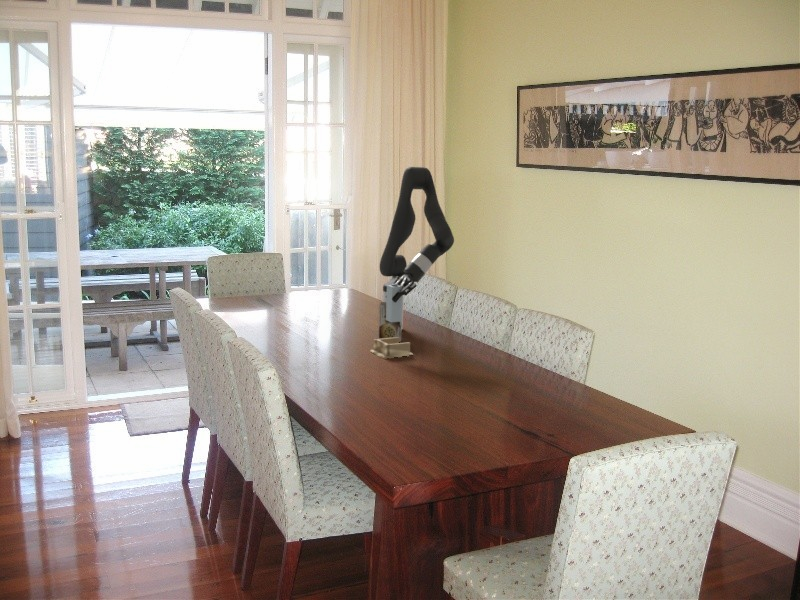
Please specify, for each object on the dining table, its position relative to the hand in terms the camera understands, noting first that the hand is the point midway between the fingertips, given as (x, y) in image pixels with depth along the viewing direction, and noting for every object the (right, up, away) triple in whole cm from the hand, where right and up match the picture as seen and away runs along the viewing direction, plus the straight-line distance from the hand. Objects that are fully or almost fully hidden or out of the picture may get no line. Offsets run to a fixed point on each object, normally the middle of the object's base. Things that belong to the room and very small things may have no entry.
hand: (390, 299), depth 345 cm
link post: (+1, -8, +2) cm, 9 cm away
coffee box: (0, -18, +26) cm, 31 cm away
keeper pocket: (+1, -21, +5) cm, 22 cm away
